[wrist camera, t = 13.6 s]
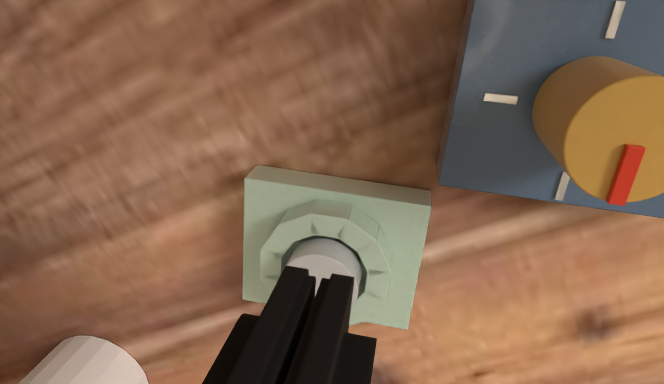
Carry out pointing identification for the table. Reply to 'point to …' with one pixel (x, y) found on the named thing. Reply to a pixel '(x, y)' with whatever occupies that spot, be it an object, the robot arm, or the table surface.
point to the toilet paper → (87, 364)
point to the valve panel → (534, 90)
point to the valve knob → (605, 127)
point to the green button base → (337, 235)
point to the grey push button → (327, 261)
